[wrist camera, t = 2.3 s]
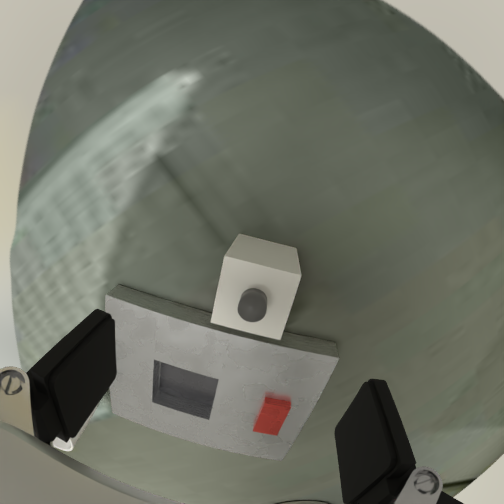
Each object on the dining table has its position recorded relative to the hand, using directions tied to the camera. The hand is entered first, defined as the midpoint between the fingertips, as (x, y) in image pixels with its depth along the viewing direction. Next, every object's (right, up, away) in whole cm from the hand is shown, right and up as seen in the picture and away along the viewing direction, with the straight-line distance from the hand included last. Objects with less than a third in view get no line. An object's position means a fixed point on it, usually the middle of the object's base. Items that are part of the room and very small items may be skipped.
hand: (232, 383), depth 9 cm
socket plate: (-4, -8, +17) cm, 19 cm away
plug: (+1, +3, +13) cm, 14 cm away
